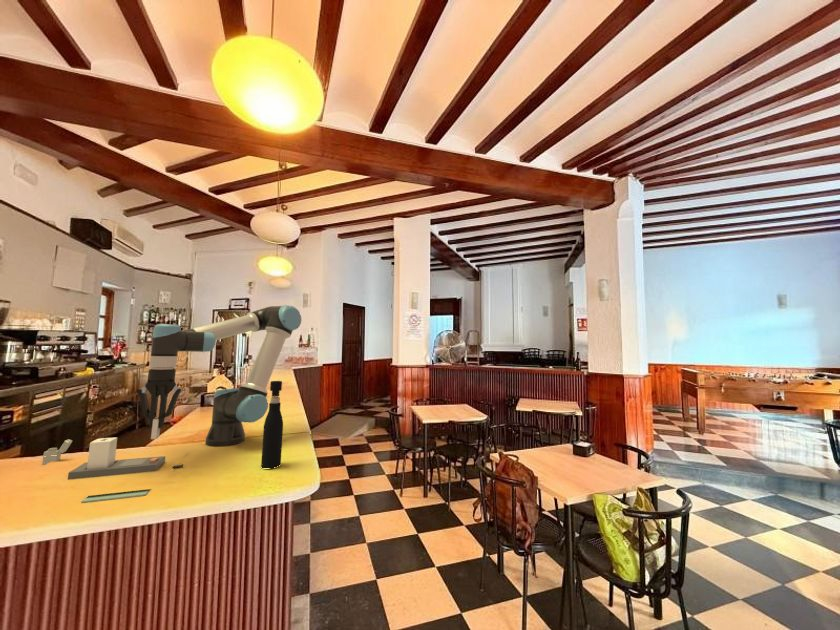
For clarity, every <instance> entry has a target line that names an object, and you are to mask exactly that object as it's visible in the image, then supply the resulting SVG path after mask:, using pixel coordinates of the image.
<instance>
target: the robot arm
mask: <svg viewBox="0 0 840 630" xmlns="http://www.w3.org/2000/svg"><path fill="white" fill-rule="evenodd" d="M301 324H302V315H301V311H299V309H297V307H296V306H294V305H287V304H284V305H273V306H268V307H267V306H266V307H264V308H260V309H258V310H257V309H256V310H255V311H254V310H253V311H250V312H247V314H245V315H243V316H238V317H234V318H229V319H226V320H222V321H218V322H214V323H213V322H212V323H210V324H205V325H202V326H201V325H200V326H197V327H192V328H188V329H185V330H181V326H180V325H178V324H169V323H158V324H156V325H155V326H154V327H153V332H152V335H151V350H150V357H149V365H148V366H149V368H150V369H149V370H148V375H147V382H146V384H145V386H142V387H141V388H138V389H136V391H135V392H136V394H137V395H138V397H139V401H140V407H141V413H142V417H143V418H146V419H149V421H148V422H149V423H148V429H149V430H151V433H150V434H151V436H150V440H157V439H158V438H160V433H161V432H160V431H161V429H162V428H164V426H165V418H167V417H170V416H171V415H172V414H173V411H174V408H175V406H176V403H177V400H178V398H179V396H180V394H181V393H182V392H183V390H184V389H183V388H182V387H179V386H177V383H176V380H175V379H176V371H177V370H176V369H175V368H176V367H177V361H178V353H179V352H196V353H197V352H199V353H201V352H202V353H205V352H211V351H213V350H214V348H215V345H216V341H220V340H223V339H226V338H229V337H233V336H237V335H241V334H244V333H249V332H252V333H253V332H255V333H256V332H259V331H265V332H266V335H265V337H264V339H263V342H262V344H261V346H260V348H259V350H258V354H257V355H256V358H255V360H254V362H253V365H252V367H251V370H250V372H249V374H248V376H247V379H246V381H245V383H243V384H241V385H239V387H236V388H235V387H234V388H223V389H217V390H215V392H214V395H213V399H212V400H213V401H212V402H213V404H212V415H211V416H212V417H211V425H210V427H209V430H208V432H207V435H206V436H205V441H204V442H205V445H206V446H209V447H226V446H232V445H237V444H240V443H242V441H243V442H244V441H245V440H246V433H245V429H244V426H243V423H255V422H257V421H259V420H261V419H262V418H263V417H264V416H265V415H266V413H267V410H269V403H268V399H267V396H268V394H269V392H268V391H267V386H268V384H269V382H270V379H271V377H272V374H273V371H274V369H275V366H276V364H277V361H278V359H279V357H280V355H281V352H282V350H283V347H284V344H285V343H286V342H285V341H286V340H287V339H288V338H291V336H292V334H293V331H295V330H298V329H299V328H300V326H301ZM172 391H173V392H172ZM147 392H148V393H149V394H150V399H151V400H150V405H149V401H148V396H147ZM171 392H172V393H173V394H172V397H171V399H170V402H169V404H167V403H168V396H169V394H170V393H171ZM159 399H160V401H159ZM158 402H159V403H158ZM158 405H159V410H158ZM167 405H168V407H167ZM157 412H158V415H157Z"/></svg>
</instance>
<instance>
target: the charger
mask: <svg viewBox="0 0 840 630" xmlns="http://www.w3.org/2000/svg"><path fill="white" fill-rule="evenodd" d="M117 443H118V437H105V438H104V437H102V438H97V439H95V440H93V441H91V442H90V443H89V449H88V455H87V456H88V457H87V462H88V465H87V469H98V468H109V467H110V466H112V465H113V464H115V460H116V454H117V453H116V452H117V445H118V444H117Z"/></svg>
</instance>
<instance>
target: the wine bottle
mask: <svg viewBox="0 0 840 630" xmlns="http://www.w3.org/2000/svg"><path fill="white" fill-rule="evenodd" d="M282 388H283V381H281V380H271V381H270V386H269V391H271V397H270V402H269V403H268V412H267V415H266V418H265V419H264V424H263V432H262V433H263V435H262V449H261V462H260V463H261V465H260V468H261V467H262V468H274V467H277V466H279V465H280V464H282V461H281V460H282V450H283V449H282V448H283V432H284V419H283V416H282V412H281V404H282V403H281V398H280V391H282ZM280 466H281V465H280ZM262 468H261V469H262Z"/></svg>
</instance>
